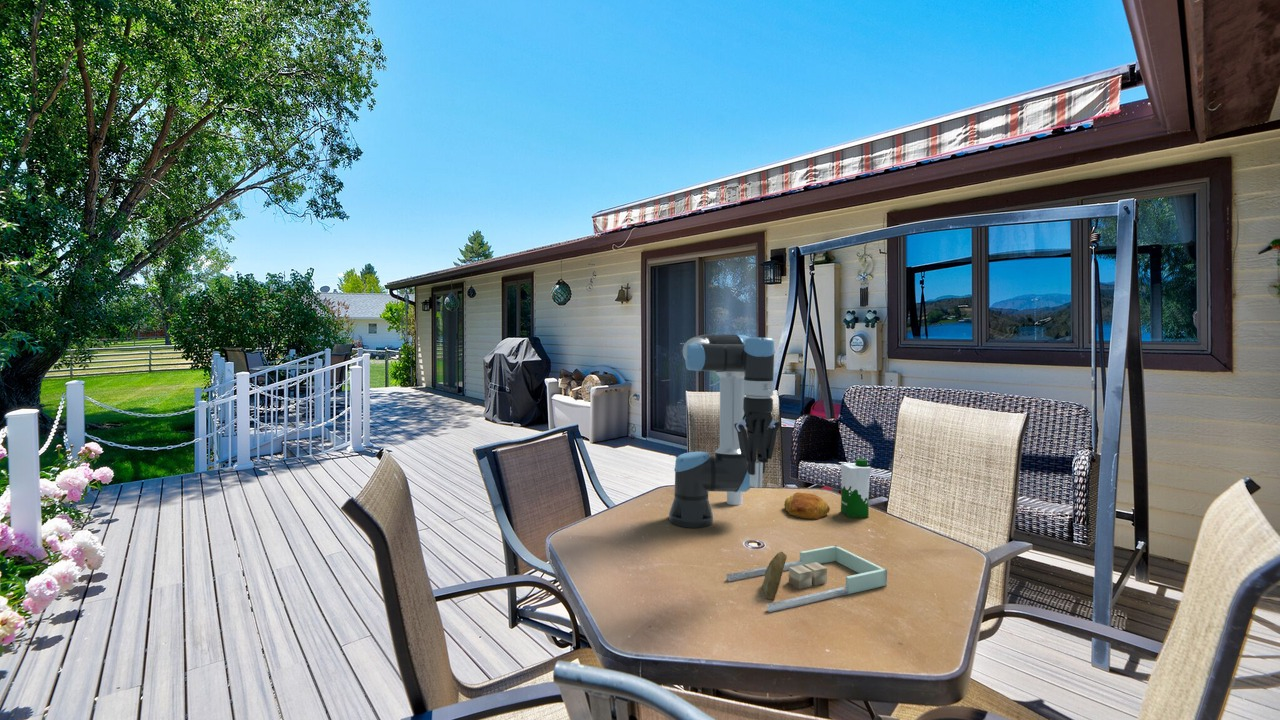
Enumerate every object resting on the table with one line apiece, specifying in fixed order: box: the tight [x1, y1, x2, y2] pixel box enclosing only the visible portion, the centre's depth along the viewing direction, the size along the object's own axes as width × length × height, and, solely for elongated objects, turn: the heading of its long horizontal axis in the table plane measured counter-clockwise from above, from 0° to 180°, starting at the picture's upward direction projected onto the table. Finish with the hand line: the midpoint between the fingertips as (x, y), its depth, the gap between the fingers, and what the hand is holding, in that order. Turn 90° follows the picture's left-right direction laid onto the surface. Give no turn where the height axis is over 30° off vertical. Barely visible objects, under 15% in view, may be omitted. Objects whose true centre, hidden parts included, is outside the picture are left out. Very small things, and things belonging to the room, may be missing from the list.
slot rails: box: [726, 560, 849, 613], centre depth 138 cm, size 24×18×2 cm
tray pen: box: [799, 545, 888, 595], centre depth 146 cm, size 13×18×4 cm
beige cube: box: [804, 562, 828, 586], centre depth 142 cm, size 4×4×4 cm
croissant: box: [783, 492, 831, 520], centre depth 198 cm, size 15×16×8 cm
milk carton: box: [840, 458, 872, 519], centre depth 197 cm, size 9×9×20 cm
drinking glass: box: [726, 492, 744, 506], centre depth 209 cm, size 7×7×10 cm
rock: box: [761, 551, 788, 601], centre depth 136 cm, size 10×8×10 cm
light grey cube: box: [788, 565, 813, 590], centre depth 140 cm, size 4×4×4 cm
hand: (755, 486), depth 143 cm, fingers closed
